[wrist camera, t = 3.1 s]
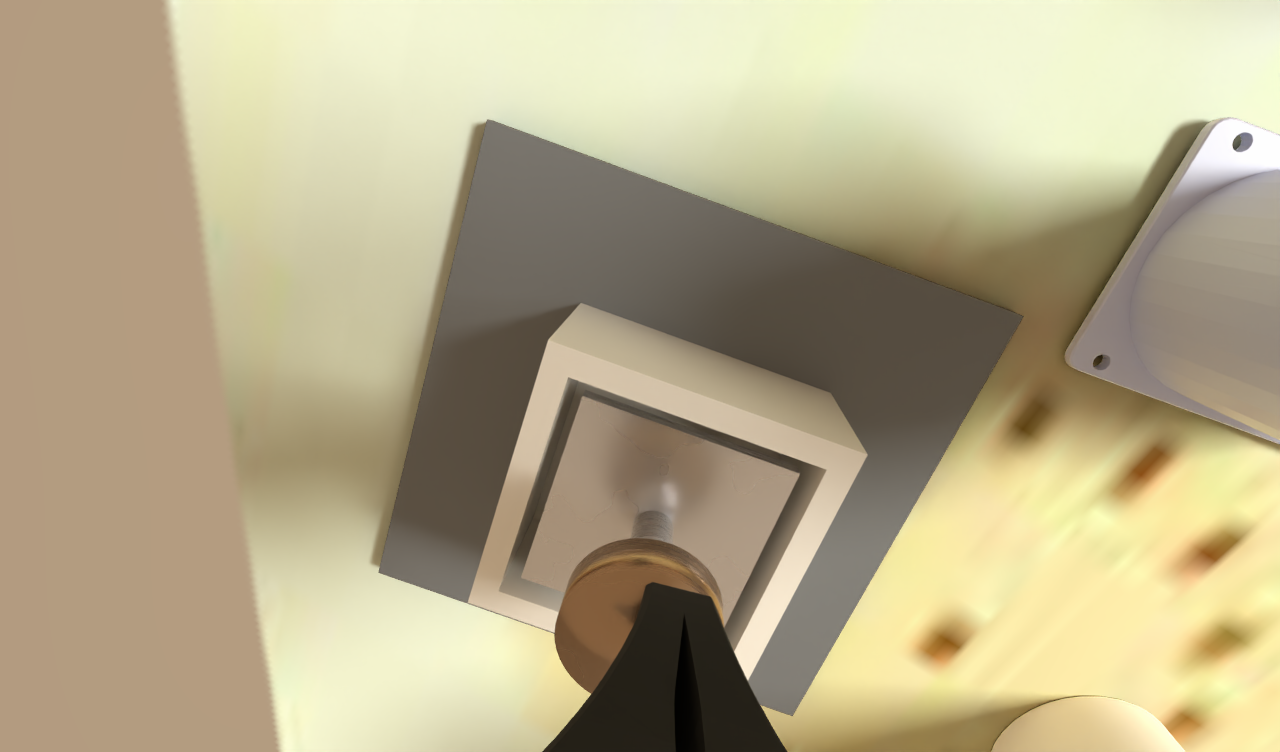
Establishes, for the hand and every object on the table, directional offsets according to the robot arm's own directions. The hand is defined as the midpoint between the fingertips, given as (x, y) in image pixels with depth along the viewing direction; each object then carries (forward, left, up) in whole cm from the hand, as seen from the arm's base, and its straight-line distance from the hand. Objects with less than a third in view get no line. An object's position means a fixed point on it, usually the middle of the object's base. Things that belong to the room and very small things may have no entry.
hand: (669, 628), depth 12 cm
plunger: (0, +1, -6) cm, 6 cm away
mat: (0, +1, -11) cm, 11 cm away
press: (0, +1, -10) cm, 10 cm away
